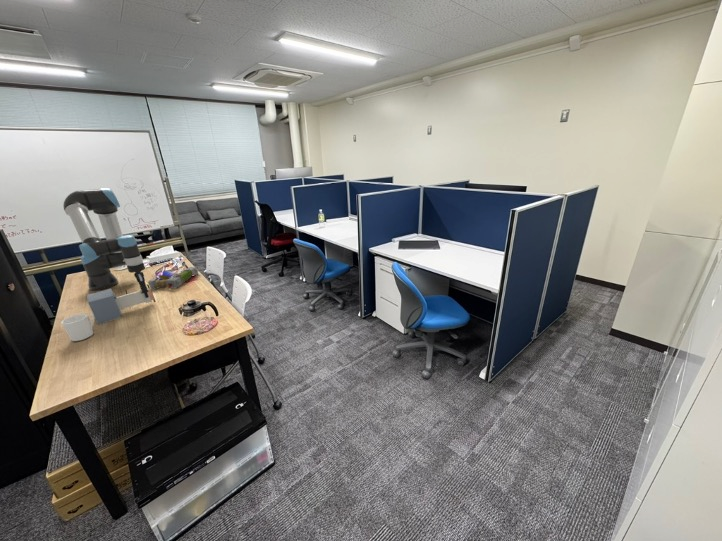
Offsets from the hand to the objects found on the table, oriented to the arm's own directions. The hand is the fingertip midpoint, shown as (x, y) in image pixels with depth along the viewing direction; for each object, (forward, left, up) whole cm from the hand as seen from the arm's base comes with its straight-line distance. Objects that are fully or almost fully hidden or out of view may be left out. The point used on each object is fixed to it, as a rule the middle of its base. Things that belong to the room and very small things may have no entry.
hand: (148, 301), depth 167 cm
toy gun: (-26, +19, -3) cm, 32 cm away
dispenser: (0, -18, -2) cm, 19 cm away
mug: (+15, -28, -2) cm, 32 cm away
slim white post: (0, -6, 0) cm, 6 cm away
